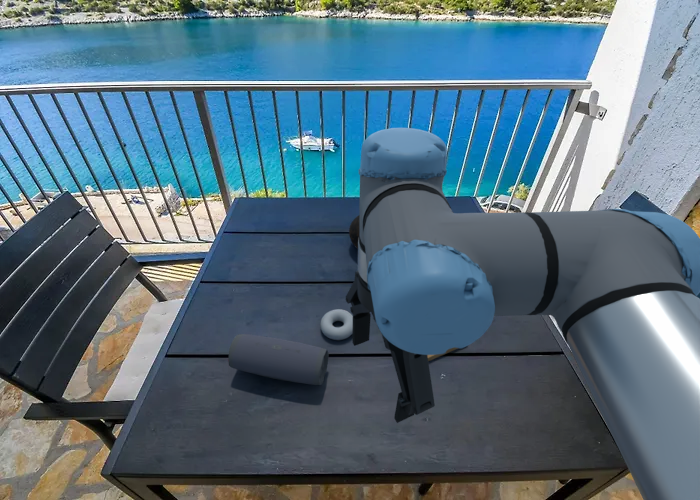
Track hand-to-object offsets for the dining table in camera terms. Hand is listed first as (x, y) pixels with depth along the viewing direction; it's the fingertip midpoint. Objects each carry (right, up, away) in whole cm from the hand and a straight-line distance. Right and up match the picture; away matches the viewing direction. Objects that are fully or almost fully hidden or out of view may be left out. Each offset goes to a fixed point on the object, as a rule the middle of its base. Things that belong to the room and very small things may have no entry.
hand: (380, 375), depth 53 cm
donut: (-8, -3, +47) cm, 47 cm away
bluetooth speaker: (-22, -12, +36) cm, 44 cm away
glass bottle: (+4, +20, +76) cm, 78 cm away
